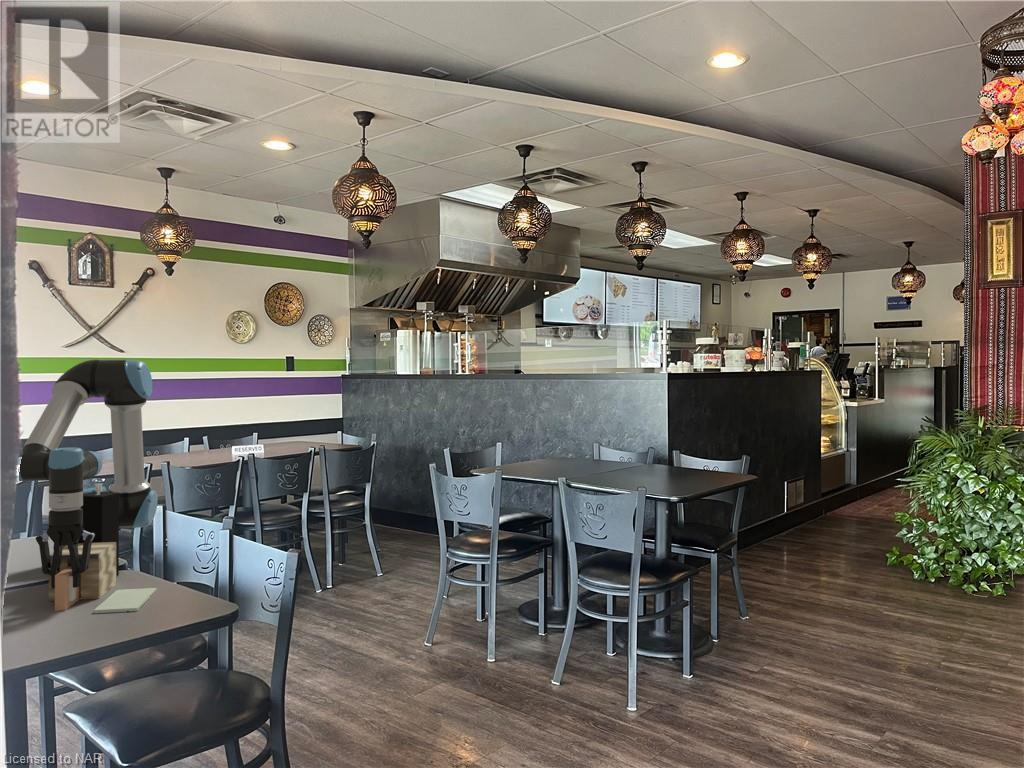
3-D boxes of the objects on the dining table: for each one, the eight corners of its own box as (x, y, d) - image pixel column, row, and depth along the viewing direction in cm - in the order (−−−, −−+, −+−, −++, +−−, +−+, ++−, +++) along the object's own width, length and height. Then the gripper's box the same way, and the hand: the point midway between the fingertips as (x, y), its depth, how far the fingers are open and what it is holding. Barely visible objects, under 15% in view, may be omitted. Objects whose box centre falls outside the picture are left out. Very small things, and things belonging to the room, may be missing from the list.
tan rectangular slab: (78, 592, 199) (78, 559, 199) (88, 592, 199) (88, 559, 199) (54, 611, 183) (54, 575, 183) (65, 610, 183) (65, 574, 183)
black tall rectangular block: (119, 575, 216) (119, 481, 216) (101, 583, 208) (102, 485, 208) (94, 574, 217) (94, 480, 217) (75, 582, 209) (76, 484, 209)
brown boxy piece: (69, 586, 205) (69, 543, 204) (116, 584, 207) (116, 542, 207) (47, 602, 190) (47, 556, 190) (97, 599, 192) (98, 554, 192)
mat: (117, 592, 199) (117, 589, 199) (156, 590, 201) (156, 587, 201) (93, 613, 181) (93, 610, 181) (137, 611, 183) (137, 607, 183)
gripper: (25, 512, 181) (25, 606, 181) (93, 510, 184) (93, 603, 184) (38, 506, 189) (38, 597, 189) (104, 505, 192) (103, 594, 192)
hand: (65, 600), depth 187 cm, fingers closed on tan rectangular slab, 2 cm apart
